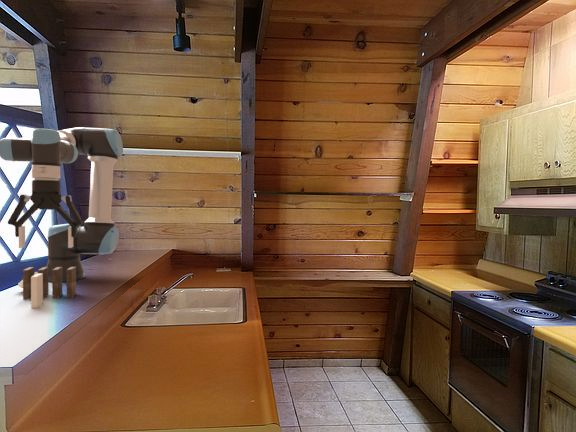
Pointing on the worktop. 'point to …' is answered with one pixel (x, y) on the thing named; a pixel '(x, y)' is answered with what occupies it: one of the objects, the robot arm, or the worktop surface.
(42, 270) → the domino
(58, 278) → the domino
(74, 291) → the domino
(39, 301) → the domino
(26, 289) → the domino
